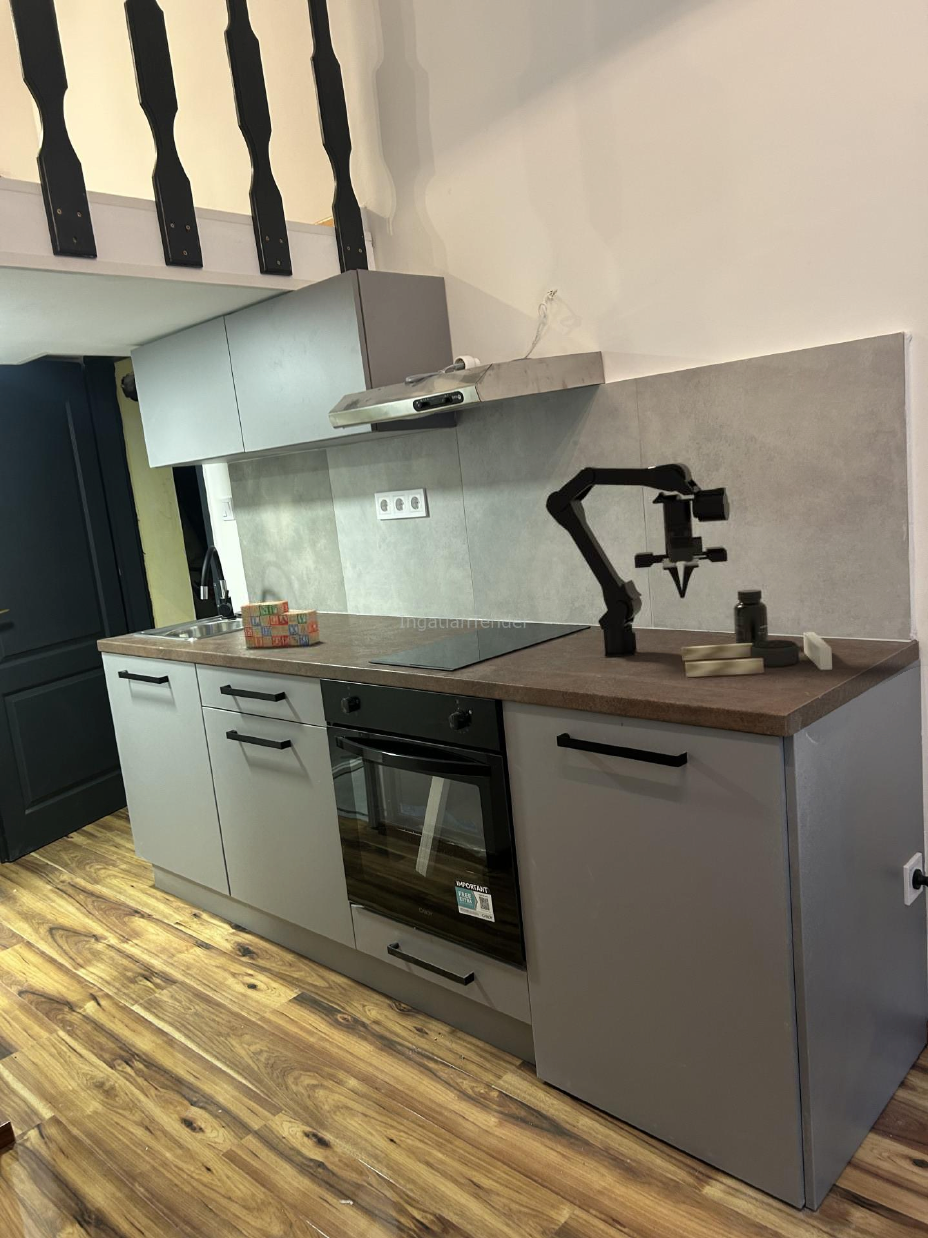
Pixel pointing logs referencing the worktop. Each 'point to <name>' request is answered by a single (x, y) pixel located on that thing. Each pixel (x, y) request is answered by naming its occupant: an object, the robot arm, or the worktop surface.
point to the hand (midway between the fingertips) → (682, 598)
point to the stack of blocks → (278, 625)
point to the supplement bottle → (750, 618)
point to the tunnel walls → (723, 665)
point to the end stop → (817, 650)
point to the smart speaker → (775, 652)
